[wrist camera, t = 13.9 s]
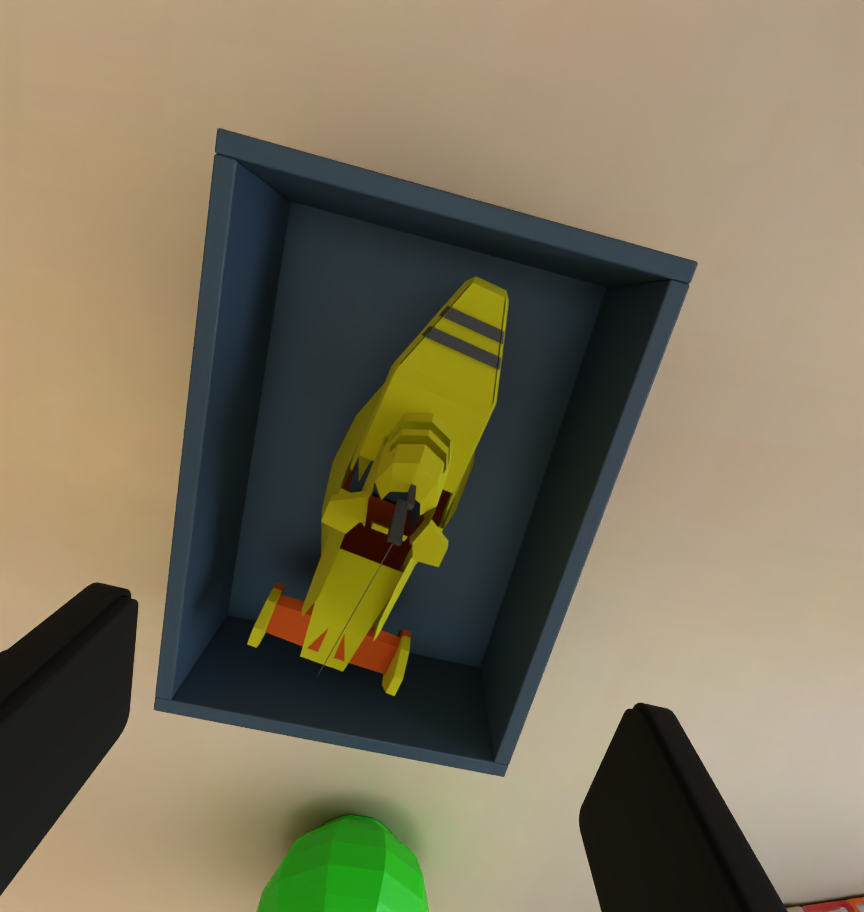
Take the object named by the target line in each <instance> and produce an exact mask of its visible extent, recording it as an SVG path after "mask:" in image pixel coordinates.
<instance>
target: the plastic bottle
mask: <svg viewBox="0 0 864 912" xmlns="http://www.w3.org/2000/svg"><path fill="white" fill-rule="evenodd" d="M257 912H429V909H428V903H427V897H426V891H425V885H424V879H423V875H422V872H421V869H420V866H419V863H418V861H417V858H416V857H415V855H414V854H413V853H412V852H411V850H410V849H409V848H408V847H407V846H405V845H404V844H403V843H401V842H400V841H399V840H398V839H397V838H395V837H394V836H393V835H392V832H391V831H389V830H388V829H387V828H386V827H384V826H383V825H382V824H380V823H379V822H378V821H377V820H375V819H374V818H369V817H362V816H355V815H345V816H343V817H340V818H337V819H334V820H331V821H329V822H326V823H325V824H324V825H323V826H322V827H319V828H317V829H315V830H313V831H311V832H308V833H306V834H304V835H303V836H302V837H300V838H299V839H298V840H296V841H295V843H294V844H293V846H292V847H291V849H290V850H289V852H288V853H287V855H286V856H285V858H284V859H283V861H282V862H281V864H280V865H279V867H278V868H277V870H276V872H275V873H274V875H273V876H272V878H271V879H270V881H269V882H268V884H267V885H266V887H265V888H264V890H263V892H262V895H261V899H260V902H259V906H258V909H257Z"/></svg>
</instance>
